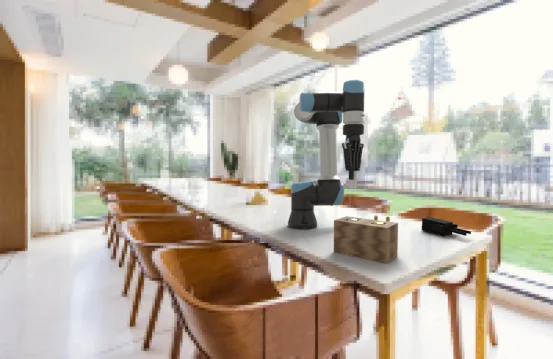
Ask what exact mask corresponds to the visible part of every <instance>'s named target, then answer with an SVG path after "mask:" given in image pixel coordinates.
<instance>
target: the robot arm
mask: <svg viewBox="0 0 553 359" xmlns="http://www.w3.org/2000/svg"><path fill="white" fill-rule="evenodd" d="M365 91H366V89H365V82H364V81H363V80H362V79H349V80H346V81H344V83H343V86H342V91H328V92H327V91H324V92H323V91H321V92H320V91H319V92H318V91H316V92H315V91H306V92H301V93H300V94H299V102H298V103H297V104H296V105H295V106H294V110H293V113H294V116H295V118H296V120H298V121H299V122H301V123H303V124H308V125H311V124H312V125H315V127H316V129H317V130H318V131H319V132H318V133H319V168H320V169H319V173H320V174H319V177H318V179H317V182H315V181H314V180H312V179H311V180H310V179H309V180H308V179H307V180H301V181H296V182H293V183H292V184H291V185H290V187H291V188H290V198H291V200H290V204H291V205H290V209H291V211H290V215H289V218H288V220H287V227H288V228H290V229H295V230H296V229H297V230H310V229H311V230H312V229H315V228H317V227H318V221H317V216H316V213H315V209H314V208H315V206H318V207H319V206H320V207H321V206H331V207H332V206H339V205H341V204H342V202H343V200H344V194H345V185H344V183H343V182H341V178H340V177H338V164H337V163H338V157H337V156H338V155H337V153H338V152H337V151H338V150H337V129H339V128H340V124H343V125H342V135H343V136H345V141H344V142H341V148H342V151H343V160H344V168H345V171H347V172H348V189H353V190H356V189H358V172H359V171H361V166H362V157H363V149H364V146H365V144H364V143H361V142H362V140H361V136H362V135H364V133H365V125H364V122H365V117H366V115H365Z"/></svg>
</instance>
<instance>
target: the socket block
mask: <svg viewBox="0 0 553 359" xmlns="http://www.w3.org/2000/svg"><path fill="white" fill-rule="evenodd" d="M350 218H353V219H357V221H348V219H350ZM374 222H383V223H384V225H376V224H373V223H374ZM398 237H399V223H398V222H393V221H389V222H387V221H386V220H385V221H384V220H379V219H378V220H374V219H371V218H370V219H369V218H364V217H363V218H362V217H354V216H348V215H347V216H344V217H341V218H337V219H334V220H333V253H336V252H337V253H338V254H341V253H342V254H341V255H345V254H347V256H350V255H351V257H354V256H355V257H356V258H359V259H365V260H368V261H371V262H372V261H373V262H378V263H382V264H389V263H390V262H391V261H392V260H394V259H395V258H398V248H399V246H398V245H399V242H398V241H399V238H398ZM337 253H336V254H337ZM355 257H354V258H355Z"/></svg>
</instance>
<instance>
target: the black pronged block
mask: <svg viewBox="0 0 553 359" xmlns="http://www.w3.org/2000/svg"><path fill="white" fill-rule="evenodd" d="M421 219H422V220H421V231H423V232H428V233H431V234H434V235H438V236H442V237H446V236H447V237H448V236H452V235H453V234H457V235H462V236H465V237H466V236H467V235H471V234H472V231H470V230H467V229H462V228H458V224H457V223H454V222H453V221H449V220H444V219H441V218H436V217H432V216H428V217H422V218H421Z"/></svg>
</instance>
